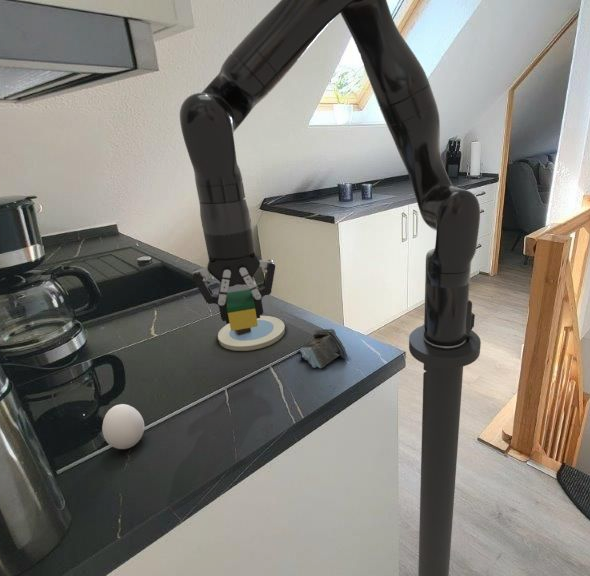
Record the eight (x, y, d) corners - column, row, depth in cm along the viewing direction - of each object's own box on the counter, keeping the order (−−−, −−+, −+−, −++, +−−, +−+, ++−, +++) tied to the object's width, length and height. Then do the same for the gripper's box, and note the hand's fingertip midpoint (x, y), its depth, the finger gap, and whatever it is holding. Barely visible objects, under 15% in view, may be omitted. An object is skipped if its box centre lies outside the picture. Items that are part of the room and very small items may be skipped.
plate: (281, 315, 104) (280, 311, 103) (289, 343, 91) (288, 338, 90) (219, 325, 99) (218, 321, 99) (217, 356, 86) (216, 351, 86)
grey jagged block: (288, 351, 88) (293, 335, 78) (314, 332, 92) (322, 315, 81) (315, 385, 87) (324, 373, 77) (340, 365, 91) (352, 351, 80)
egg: (128, 461, 60) (114, 421, 57) (101, 453, 61) (86, 414, 58) (156, 436, 64) (145, 398, 61) (130, 430, 66) (118, 392, 63)
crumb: (247, 326, 96) (246, 321, 95) (251, 331, 94) (250, 326, 93) (234, 330, 94) (233, 324, 94) (238, 335, 92) (237, 329, 91)
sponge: (229, 314, 76) (225, 292, 74) (254, 310, 77) (251, 288, 76) (231, 331, 70) (226, 307, 68) (258, 326, 71) (254, 303, 70)
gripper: (178, 237, 61) (200, 336, 68) (274, 227, 66) (286, 320, 73) (181, 226, 68) (201, 317, 74) (269, 218, 72) (280, 304, 79)
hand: (243, 318), depth 73 cm, fingers closed on sponge, 4 cm apart
